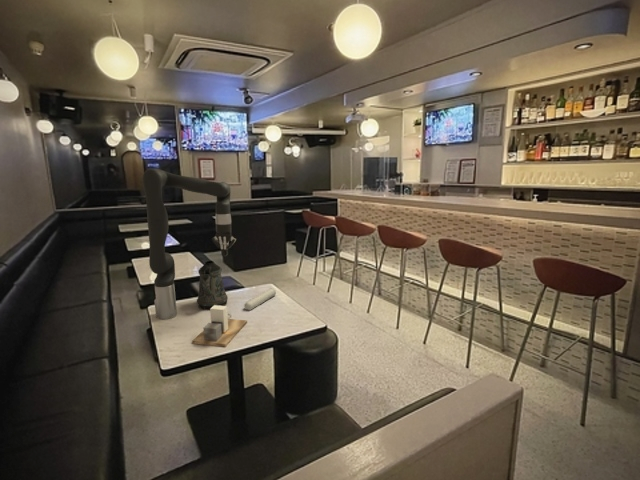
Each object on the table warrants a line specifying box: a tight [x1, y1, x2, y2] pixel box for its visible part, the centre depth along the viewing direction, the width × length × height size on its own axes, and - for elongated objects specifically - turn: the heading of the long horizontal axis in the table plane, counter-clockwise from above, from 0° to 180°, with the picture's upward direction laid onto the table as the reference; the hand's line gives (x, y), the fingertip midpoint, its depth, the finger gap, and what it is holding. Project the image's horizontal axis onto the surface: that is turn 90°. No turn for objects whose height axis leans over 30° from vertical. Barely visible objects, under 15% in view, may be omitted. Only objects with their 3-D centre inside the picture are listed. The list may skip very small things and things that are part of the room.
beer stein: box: [196, 260, 228, 311], centre depth 196 cm, size 16×19×25 cm
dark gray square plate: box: [210, 321, 223, 333], centre depth 163 cm, size 5×1×5 cm, turn 79°
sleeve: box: [209, 305, 229, 332], centre depth 165 cm, size 6×4×11 cm, turn 79°
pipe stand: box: [191, 313, 248, 348], centre depth 166 cm, size 16×24×7 cm, turn 169°
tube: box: [243, 287, 277, 311], centre depth 202 cm, size 5×5×25 cm
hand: (224, 256), depth 181 cm, fingers closed
